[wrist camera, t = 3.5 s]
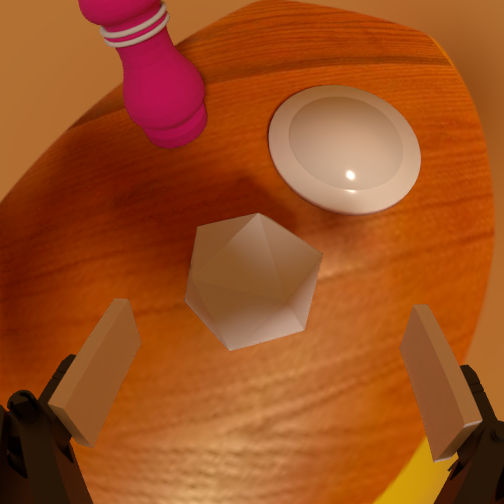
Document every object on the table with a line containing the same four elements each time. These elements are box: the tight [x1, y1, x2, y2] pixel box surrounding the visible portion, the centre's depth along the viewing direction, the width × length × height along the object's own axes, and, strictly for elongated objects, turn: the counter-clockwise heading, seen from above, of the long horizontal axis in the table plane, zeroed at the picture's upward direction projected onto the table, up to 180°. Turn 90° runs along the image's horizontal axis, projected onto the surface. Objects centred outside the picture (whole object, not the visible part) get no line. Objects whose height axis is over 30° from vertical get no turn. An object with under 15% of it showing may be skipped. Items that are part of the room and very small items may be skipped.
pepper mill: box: [78, 0, 207, 148], centre depth 20 cm, size 7×7×20 cm
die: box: [184, 213, 323, 351], centre depth 21 cm, size 8×9×10 cm
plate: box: [269, 85, 421, 216], centre depth 27 cm, size 14×14×1 cm
